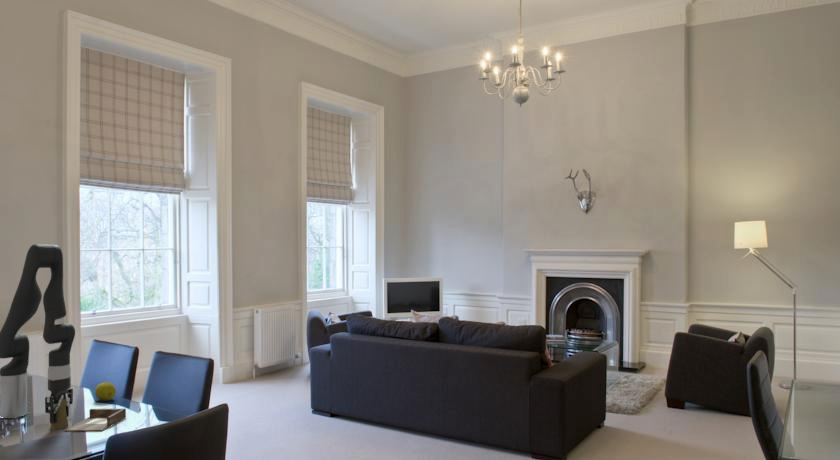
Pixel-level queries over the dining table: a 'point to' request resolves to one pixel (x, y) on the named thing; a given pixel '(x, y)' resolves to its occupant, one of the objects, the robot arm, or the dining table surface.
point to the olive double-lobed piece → (60, 417)
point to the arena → (98, 420)
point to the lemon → (105, 391)
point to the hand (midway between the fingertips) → (59, 420)
